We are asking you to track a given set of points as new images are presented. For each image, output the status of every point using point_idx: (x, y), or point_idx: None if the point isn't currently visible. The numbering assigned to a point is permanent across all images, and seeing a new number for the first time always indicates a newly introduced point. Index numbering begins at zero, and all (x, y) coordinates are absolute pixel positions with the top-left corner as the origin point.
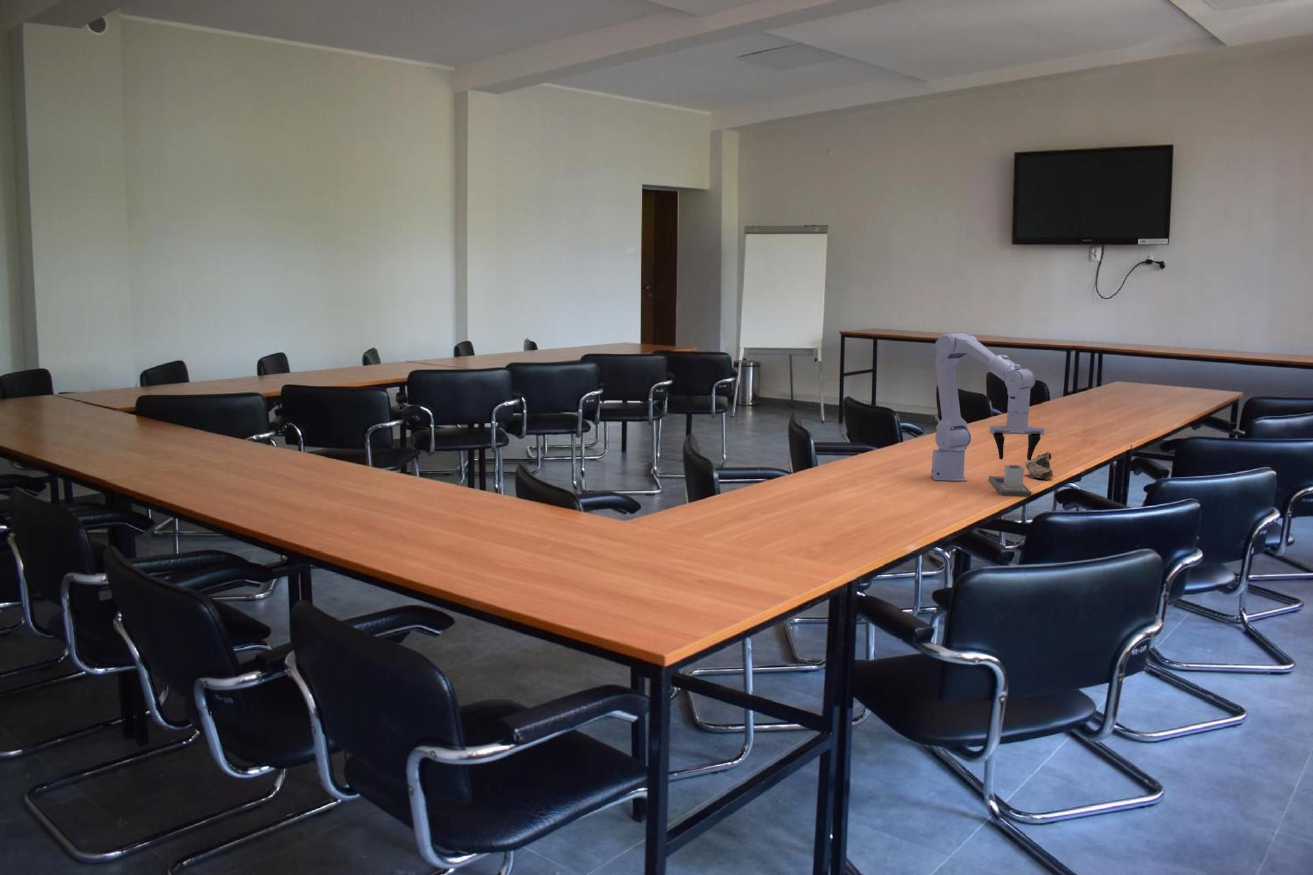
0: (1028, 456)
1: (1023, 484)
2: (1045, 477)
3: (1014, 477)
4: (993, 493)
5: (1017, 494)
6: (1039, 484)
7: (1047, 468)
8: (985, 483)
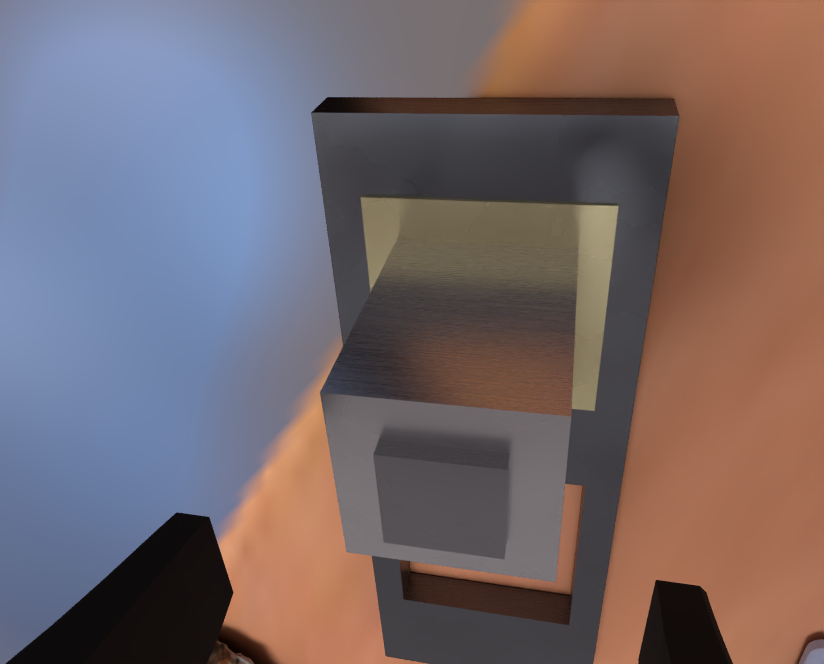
0: (184, 585)
1: None
2: None
3: (474, 322)
4: (736, 211)
5: (477, 104)
6: (243, 547)
7: None
8: (652, 584)
